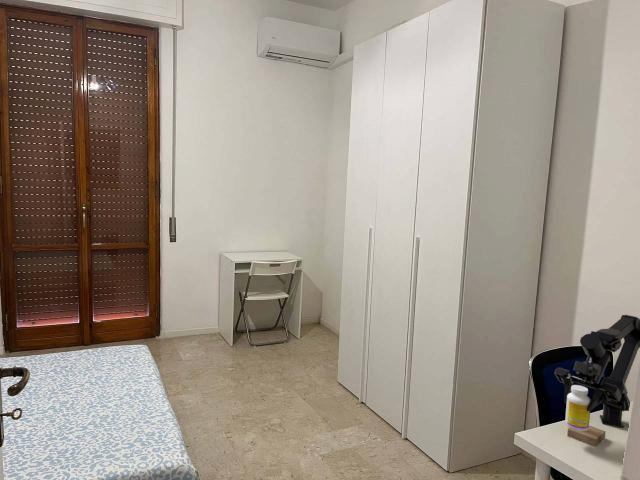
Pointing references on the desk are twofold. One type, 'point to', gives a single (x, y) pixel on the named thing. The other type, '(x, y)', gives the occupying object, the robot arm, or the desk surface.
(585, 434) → the walnut plinth
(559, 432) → the desk surface
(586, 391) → the supplement bottle
